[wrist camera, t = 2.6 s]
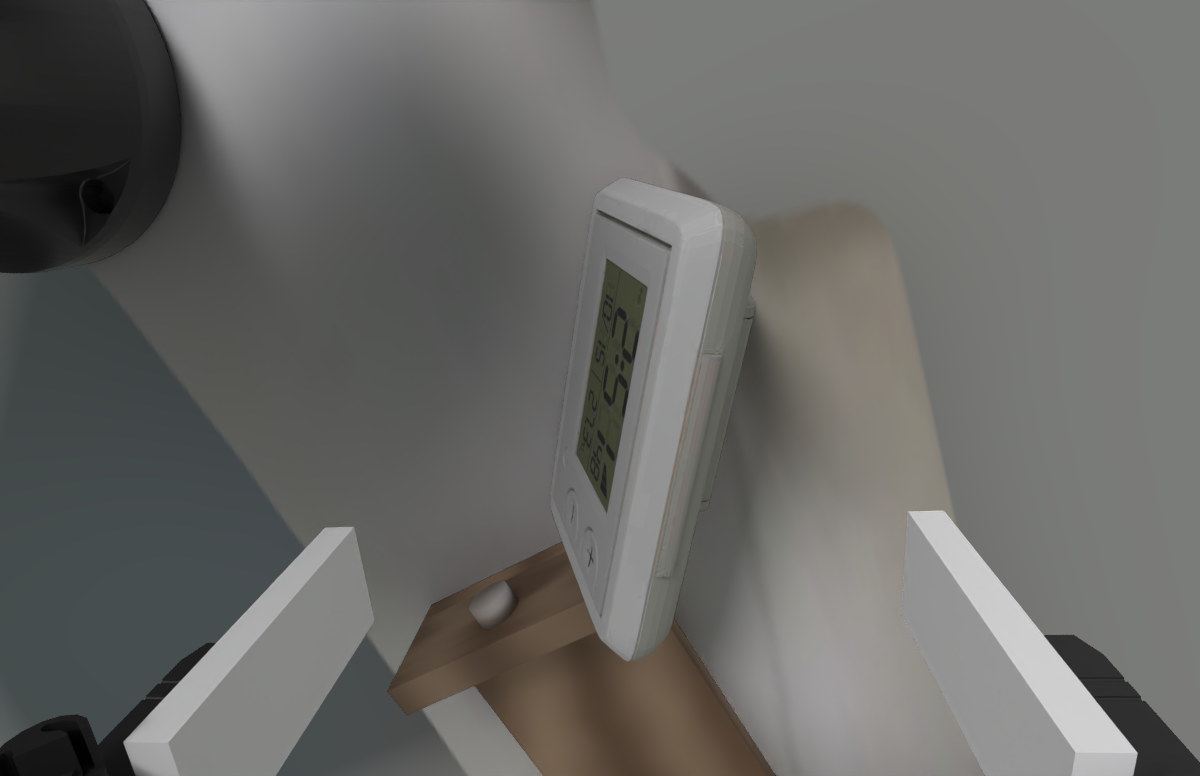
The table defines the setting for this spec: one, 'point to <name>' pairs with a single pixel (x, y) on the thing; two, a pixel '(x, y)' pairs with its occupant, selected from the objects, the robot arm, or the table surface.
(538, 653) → the walnut holder
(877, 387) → the table surface
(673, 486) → the digital clock
